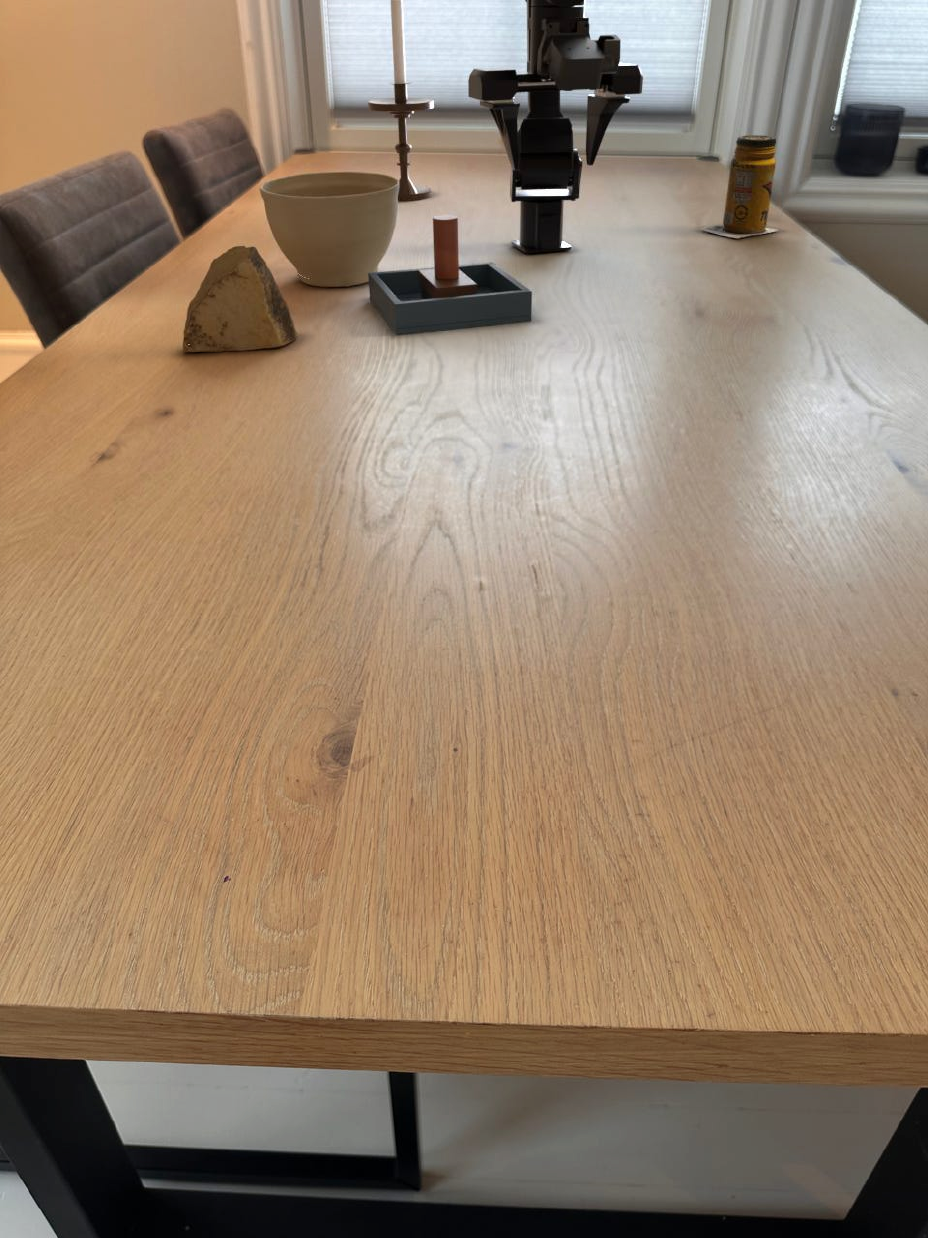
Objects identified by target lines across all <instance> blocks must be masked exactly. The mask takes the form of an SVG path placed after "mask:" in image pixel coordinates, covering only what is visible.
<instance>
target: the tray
mask: <svg viewBox="0 0 928 1238" xmlns="http://www.w3.org/2000/svg"><path fill="white" fill-rule="evenodd" d="M427 269H434V267H421V268H420V267H419V268H409V269H398V270H385V271H377V272H374V273H368V278H369V282H368V291H369V301H370V303H371V304H372V305H373V307H374V308H375V309H376V310H377V312H378V313H379V314H380V316H381V317H382V318H383V320H384V321H385V323H387V325H388V326H389V327H390V328H391V330H392V331H393V333H395V335H396V336H399V335H400V336H401V335H410V334H420V333H430V332H440V331H450V330H458V329H468V328H469V329H470V328H478V327H487V326H488V327H489V326H498V325H499V326H500V325H508V324H517V323H528V322H532V312H533V311H532V310H533V309H532V307H533V306H532V305H533V304H532V303H533V302H532V301H533V296H532V295H533V291H532V290H530V288H528V287H527V286H525V285H524V284H522V283H521V282H520V281H518V280H517V279H516V278H515V277H513V276H512V275H510V274H509V273H508V272H506V271H505V270H503V269H502V268H501V267H499V266H498V265H496V264H495V263H494V262H493V261H490V262H489V261H488V262H477V263H468V264H466V263H465V264H459V270H461V271H462V272H463V273H464V274H465V275H466V276H468V277H469V278H470V279H471V280H472V281H474V282H475V283H476V284H477V295H467V296H456V297H445V298H435V299H424V300H423V299H422V296H421V286H420V285H419V277H418V270H427Z"/></svg>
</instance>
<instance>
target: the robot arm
mask: <svg viewBox="0 0 928 1238" xmlns="http://www.w3.org/2000/svg"><path fill="white" fill-rule="evenodd" d="M524 1H525V3H526V73H517V70H516V69H514V68H507V67H504V66H503V67H480V68H479V67H477V68H473V69H472V70H471V72H470V73H469V76H468V80H467V81H468V82H467V83H468V86H467V87H468V88H467V89H468V90H467V91H468V98H471V99H475V100H478V101H479V105H480V106H481V107H484V108H487V109H488V110H489V112H490V114H491V116H492V118H493V120H494V122H495V125H496V127H497V129H498V131H499V134H500V138H501V140H502V143H503V146H504V149H505V152H506V155H507V158H508V161H509V164H510V175H509V197H510V201H511V203H516V202H519V203H520V204H519V205H520V207H519V208H520V210H519V211H520V212H519V213H520V214H519V239H513V240H512V239H511V244H510V245H512V246H513V247H514V248H516V249H518V250H519V251H521V252H523V253H524V254H540V253H551V252H562V251H570V250H572V245H570V244H568V243H567V242H566V241H563V234H564V233H563V232H564V231H563V229H564V203H565V201H570V202H575V201H576V200H578V199H580V190H581V189H580V186H581V179H582V171H583V161H582V160H581V158H580V154H579V150H578V149H577V148H574V130H573V124H572V122H571V119H570V118H569V117H565V115H564V114H563V112H562V111H561V92H562V91H563V92H572V91H580V90H581V91H582V90H583V91H584V90H585V91H586V90H590V91H593V94H587V99H586V100H587V102H586V103H587V105H586V131H585V160H586V165H587V166H593V165H594V164H595V161H596V158H597V157H598V153H599V150H600V147H601V145H602V143H603V139H604V137H605V134H606V131H607V129H608V127H609V125H610V122H611V121H612V119H613V117H614V115H615V114H616V112H617V111H618V110H619V109H620V107H621V106H623V105H624V104H629V103H630V101H631V99H632V97H628V96H627V95H640V94H643V85H644V84H643V82H644V75H643V72H642V69H641V67H640V65H639V64H634V63H626V62H621V44H622V43H621V42H622V41H621V38H620V37H619V36H618V35H617V34H601V35H599V36H598V39H591V34H590V17H585V14H586V13H585V12H586V0H524ZM518 93H527V114H526V116H525V118H523V119H522V120H521V121H522V122H521V124H520V125H518V120H519V119H518V117H519V112H520V109H521V103H520V102H516V101H515V96H516V94H518ZM518 126H519V127H518ZM517 188H520V190H517Z"/></svg>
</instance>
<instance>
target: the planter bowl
mask: <svg viewBox="0 0 928 1238" xmlns="http://www.w3.org/2000/svg"><path fill="white" fill-rule="evenodd" d="M399 180H400V179H398V178H397V177H394V176H391V175H388V174H384V173H376V172H363V171H319V172H308V173H300V174H293V175H292V174H291V175H286V176H281V177H277V178H273V179H269V180H266V181H265V182H263V183H261V184H260V185H259V193H260V196H261V198H262V200H263V205H264V211H265V216H266V220H267V223H268V226H269V229H270V231H271V234H272V236H273V238H274V240H275V242H276V244H277V245H278V247H279V249H280V251H281V252H282V254H283V255H284V256H285V258H286V260H288V261H289V263H290V264H291V265H292V266H293V267H294V268H295V269H296V272H297V276H298V279H299V280H300V281H301V282H302V283H304V284H307V285H310V286H315V287H326V288H341V287H346V288H349V287H351V286H358V285H362V284H366V283H369V278H368V273H374V272H379V271H378V269H379V264H380V263H381V261H382V260H383V258H384V257H385V255H386V253H387V251H388V249H389V247H390V244H391V242H392V239H393V236H394V232H395V229H396V226H397V219H398V210H399V209H398V208H399V200H398V192H399ZM298 273H299V274H300V275H302V276H303V277H302V276H300V275H299V274H298ZM304 277H306V278H304ZM308 278H309V279H308Z"/></svg>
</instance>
